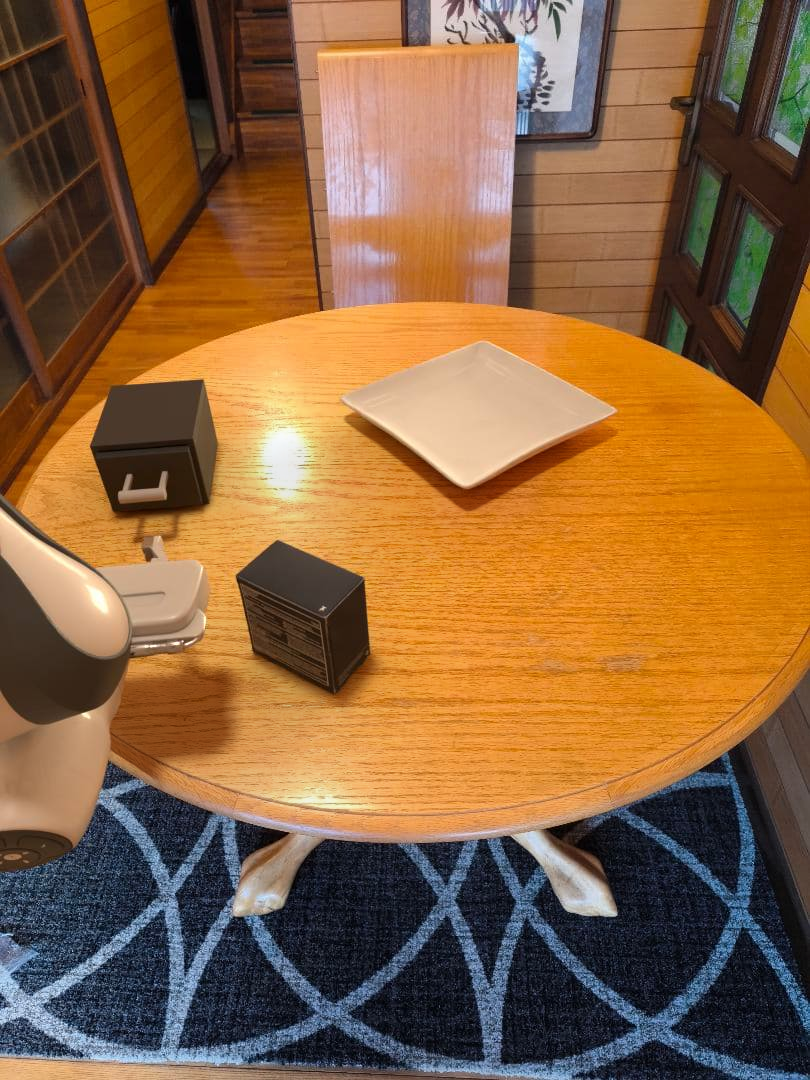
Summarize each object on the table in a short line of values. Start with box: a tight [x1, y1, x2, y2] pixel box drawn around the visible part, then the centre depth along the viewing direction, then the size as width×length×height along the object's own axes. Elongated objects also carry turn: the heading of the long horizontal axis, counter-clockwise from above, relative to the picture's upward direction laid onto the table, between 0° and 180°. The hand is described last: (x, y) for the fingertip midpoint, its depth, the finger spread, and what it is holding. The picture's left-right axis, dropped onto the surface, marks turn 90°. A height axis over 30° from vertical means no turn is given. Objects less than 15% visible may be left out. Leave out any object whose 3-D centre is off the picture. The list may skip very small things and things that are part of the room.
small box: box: [235, 539, 371, 695], centre depth 72 cm, size 11×6×10 cm, turn 58°
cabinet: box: [89, 378, 218, 512], centre depth 95 cm, size 14×12×10 cm
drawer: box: [95, 444, 203, 513], centre depth 92 cm, size 17×10×8 cm, turn 6°
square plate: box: [339, 340, 618, 490], centre depth 104 cm, size 27×27×4 cm
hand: (102, 545), depth 70 cm, fingers open, 8 cm apart
